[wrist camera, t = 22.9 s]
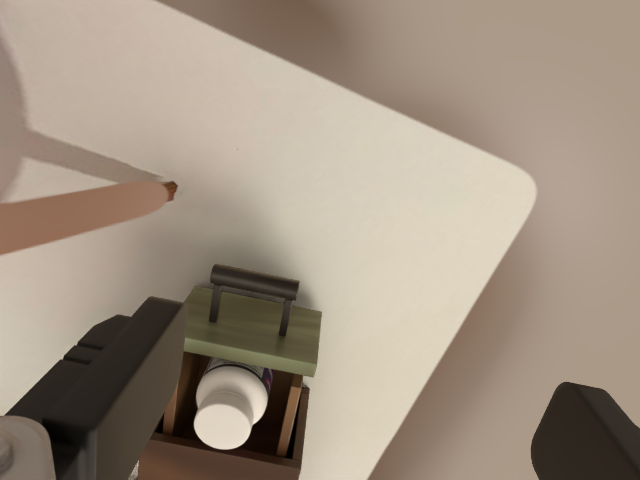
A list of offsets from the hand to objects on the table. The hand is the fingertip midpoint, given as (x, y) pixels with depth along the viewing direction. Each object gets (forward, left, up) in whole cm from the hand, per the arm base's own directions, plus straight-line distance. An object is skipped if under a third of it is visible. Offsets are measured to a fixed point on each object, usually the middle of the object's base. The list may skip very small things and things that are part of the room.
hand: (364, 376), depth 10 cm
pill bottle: (+15, -12, -26) cm, 32 cm away
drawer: (+15, -11, -27) cm, 33 cm away
